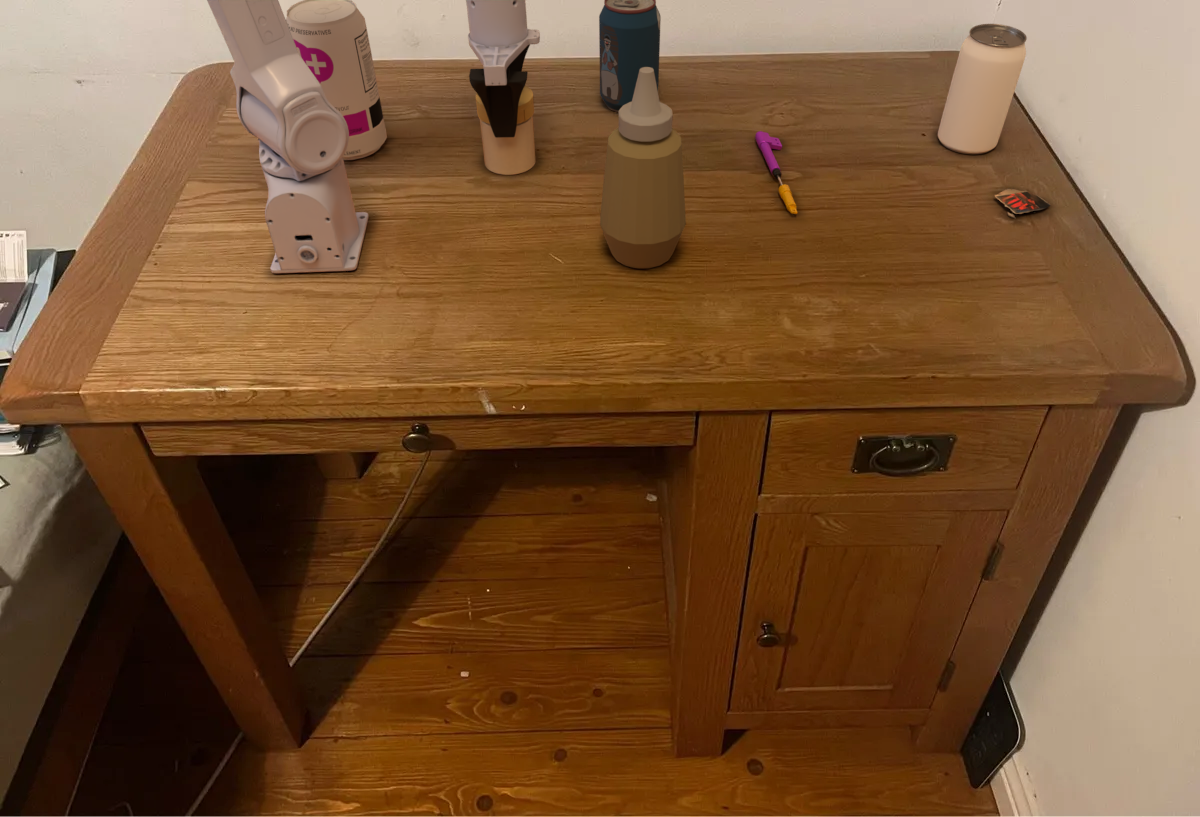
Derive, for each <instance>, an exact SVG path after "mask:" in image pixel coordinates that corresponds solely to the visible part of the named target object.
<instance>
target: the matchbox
mask: <svg viewBox="0 0 1200 817" xmlns="http://www.w3.org/2000/svg"><path fill="white" fill-rule="evenodd" d="M993 196H994V197H995V199H997V200H999V201H1000V203H1002V204H1003V205H1004V207H1005V208H1008V209H1010V211H1011V212H1012V213H1010V212H1009V211H1007V216H1009V217H1011V218H1015V215H1014V214H1016V215H1017V214H1019V215H1022V214H1024V213H1030V212H1033V211H1041V210H1045V209H1047V208H1049V207H1050V206H1051V204H1050V203H1049V202H1048V201H1047V200H1045V199H1044V198H1043V197H1041V196H1039V195H1038V194H1037V195H1036V194H1035V193H1032V192H1030V191H1028V190H1018V189H1015V188H1006V189H1004V190H1002V191H1000V192H998V194H994V195H993ZM1013 213H1014V214H1013ZM1033 214H1036V212H1033Z"/></svg>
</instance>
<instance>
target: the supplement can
mask: <svg viewBox="0 0 1200 817" xmlns="http://www.w3.org/2000/svg"><path fill="white" fill-rule="evenodd" d="M285 19H286V22H287V24H288V27H289V30H290V32H291V35H292V37H293V40H294V43H295V45H296V48H297V50H298V53H299V55H300V56H301V58H302V59H303V61H304V62H305V63H306V65H307V66H308V67H309V69H310V70H311V72H312V73H313V74H314V76H315V77H316V79H317V80H318V82H319V83H320V85H321V86H322V89H323V92H324V94H325V97H326V99H327V100H328V102H329V103H330V104H331V105H332V106H333V107H334V108H336V109H337V110H338V111H339V112H340V113H341V114H342V116H343V117H344V119H345V121H346V123H347V126H348V130H349V141H348V146H347V149H346V151H345V154H344V155H343V160H344V161H354V160H359V159H363V158H366V157H369V156H371V155H373V154H374V153H376V152H377V151H379V150H380V149H381V147H382V146H383V145H384V144H385V141H386V140H387V139H388V136H387V135H388V134H387V128H386V123H385V117H384V112H383V108H382V102H381V97H380V96H381V95H380V92H379V91H380V90H379V86H378V81H377V76H376V70H375V64H374V60H373V55H372V49H371V44H370V39H369V33H368V28H367V22H366V19H365V16H364V15H363V14H362V12H361V11H360V10H359V9H358V7H357V4H356V3H355V1H353V0H301V1H298V2H296V3H294V4H292V5H290V6H289V7H288V9H287V10H286V17H285Z"/></svg>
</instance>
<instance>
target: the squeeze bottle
mask: <svg viewBox="0 0 1200 817" xmlns="http://www.w3.org/2000/svg"><path fill="white" fill-rule="evenodd" d="M673 115H674V114H673V110H672V108H671V107H670V106H669V105H668V104H666V103H663V102H661V101H660V96H659V90H658V91H657V85H656V80H655V74H654V69H653V68H651V67H643V68H641V69H640V70H639V74H638V78H637V83H636V87H635V91H634V95H633V99H632V102H629V103H627V104H625V105H623V106H622V107H621V108H620V110H619V113H618V127H616V128H615V129H614V130H612V132H611V133H610V134H609V136H608V137H607V145H606V154H605V166H604V174H603V184H602V193H601V203H600V204H601V205H600V212H599V213H600V214H599V225H600V228H601V231H602V233H603V235H604V238H605V240H606V243H607V246H608V248H609V251H610V253H611V255H612V256H613V258H614V259H615V261H617V262H618V263H620V264H621V265H623V266H625V267H630V268H633V269H651V268H656V267H659V266H662V265H663V264H665V263H666V262H668V261H669V260H670V258H671V257H672V255H673V254H674V251H675V249H676V247H677V245H678V243H679V240H680V238H681V236H682V234H683V232H684V229H685V227H686V225H687V219H686V200H685V198H686V197H685V178H684V161H683V160H684V159H683V157H684V156H683V141H682V135H680V134H679V133H678V132H677V130H676V129H674V128H673V117H674V116H673Z"/></svg>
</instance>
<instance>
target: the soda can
mask: <svg viewBox="0 0 1200 817" xmlns="http://www.w3.org/2000/svg"><path fill="white" fill-rule="evenodd" d="M603 3H604V5H603V7H602V9H601V11H600V13H599V16H598V28H599V32H598V33H599V36H598V39H599V95H600V98H601V99H602V101H603V102H604V104H605V105H606V107H607V108H608V109H609V110H610V111H613V112H615V113H618V114H619V110H620V108H621V107H622V106H623V105H625V104H627V103H629V102H632V99H633V95H634V91H635V87H636V83H637V78H638V74H639V70H640V69H641V68H643V67H651V68H653V69H654V74H655V80H656V85H657V91H658V92H659V82H660V80H659V79H660V78H659V77H660V47H661V22H662V21H661V19H662V17H661V13H660V11H659V8H658V6H657V5H656V4H657V0H604V1H603Z"/></svg>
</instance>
